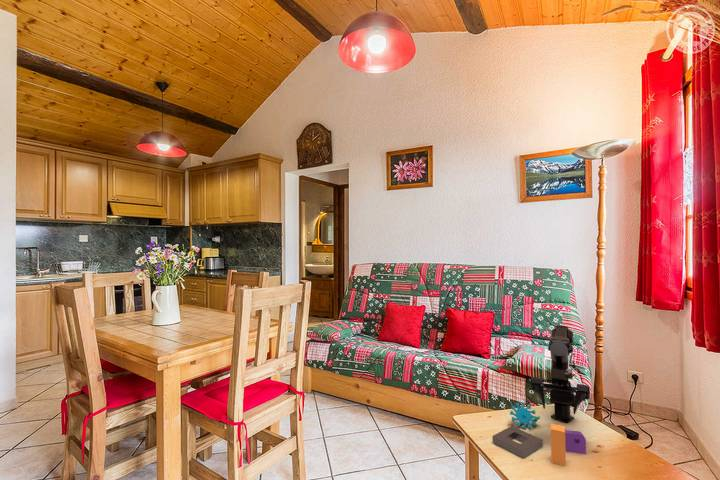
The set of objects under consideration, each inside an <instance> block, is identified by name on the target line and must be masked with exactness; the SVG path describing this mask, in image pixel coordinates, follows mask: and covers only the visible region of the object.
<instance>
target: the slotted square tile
mask: <svg viewBox="0 0 720 480" xmlns="http://www.w3.org/2000/svg"><path fill="white" fill-rule="evenodd" d="M491 437H492V444H494V445H495V446H498V447H499V448H502V449H504V450H506V451H508V452H510V453H511V454H513V455H516V456H517V457H519V458H521V459H526V458H528V457H529V456H530V455H532V454H534V453H536V451H538V450H539V449H541V448H543V447H544V445H543V444H544V443H543V441H544V440H543V439H542V438H540V437H538V436H536V435H534V434H531V433H529V432H527V431H524V430H522V429H521V428H518V427H516V426H513V425H510V426H509V427H507V428H504V429H503V430H500V432H497V433H495V434H494V435H492V436H491ZM515 440H517V441H518V442H517V441H515ZM519 442H520V443H519Z"/></svg>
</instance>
